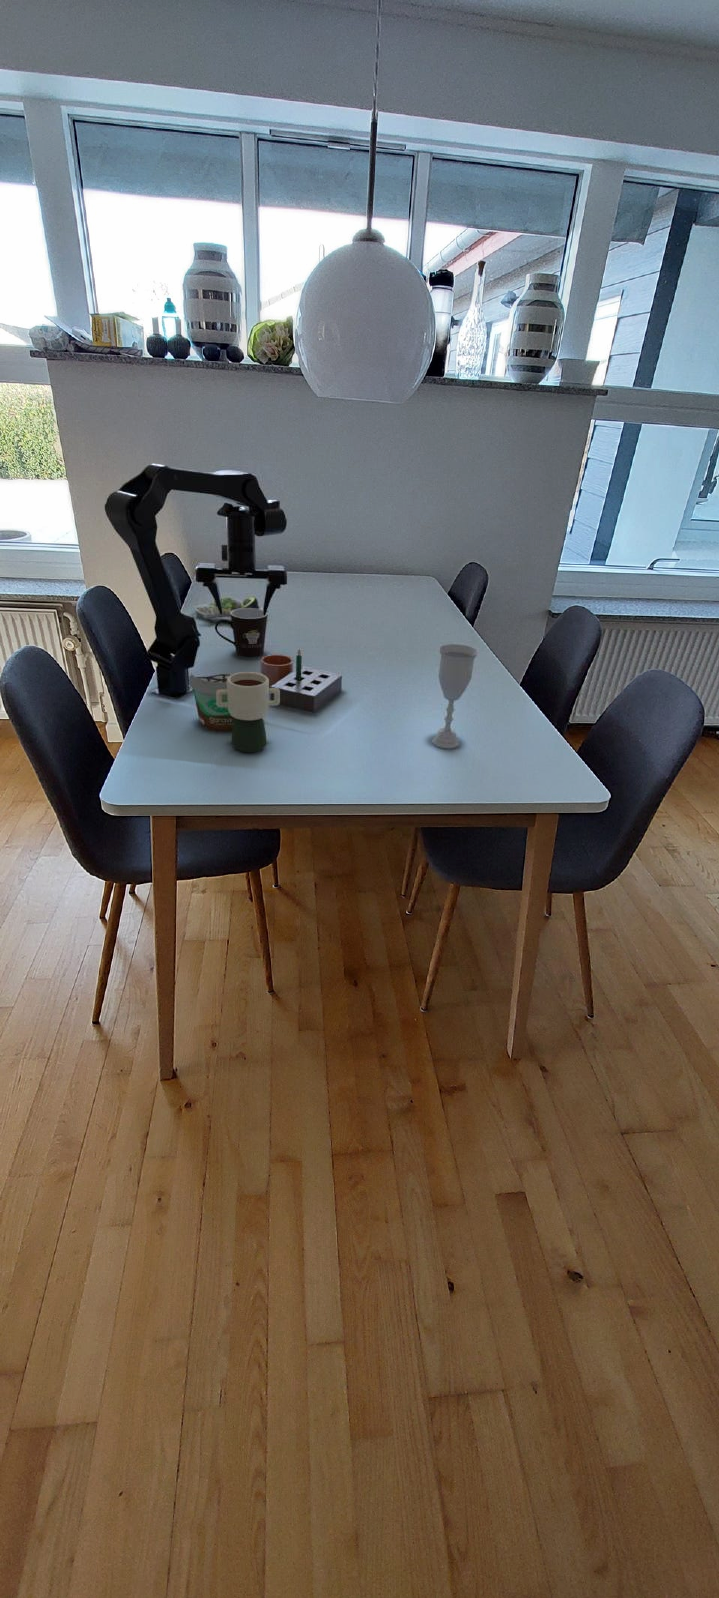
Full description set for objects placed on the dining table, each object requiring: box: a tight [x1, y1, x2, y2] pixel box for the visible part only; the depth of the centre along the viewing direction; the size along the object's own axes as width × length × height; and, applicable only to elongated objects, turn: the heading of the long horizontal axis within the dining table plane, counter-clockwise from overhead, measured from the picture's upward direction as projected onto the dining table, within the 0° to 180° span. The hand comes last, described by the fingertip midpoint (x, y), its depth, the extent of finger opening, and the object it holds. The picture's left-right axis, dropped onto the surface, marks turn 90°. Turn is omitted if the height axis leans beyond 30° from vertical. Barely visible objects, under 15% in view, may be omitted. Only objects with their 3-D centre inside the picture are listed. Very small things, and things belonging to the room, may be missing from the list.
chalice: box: [432, 643, 479, 749], centre depth 126 cm, size 7×7×18 cm
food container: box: [189, 670, 254, 733], centre depth 127 cm, size 12×6×10 cm, turn 105°
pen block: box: [270, 666, 343, 714], centre depth 143 cm, size 10×14×4 cm
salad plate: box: [194, 596, 269, 623], centre depth 189 cm, size 19×18×5 cm
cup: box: [260, 654, 294, 687], centre depth 149 cm, size 7×7×5 cm
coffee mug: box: [214, 608, 269, 658], centre depth 162 cm, size 12×9×10 cm
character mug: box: [216, 671, 280, 753], centre depth 120 cm, size 11×7×13 cm, turn 104°
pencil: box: [295, 648, 303, 681], centre depth 142 cm, size 1×1×10 cm
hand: (242, 614), depth 148 cm, fingers open, 9 cm apart
